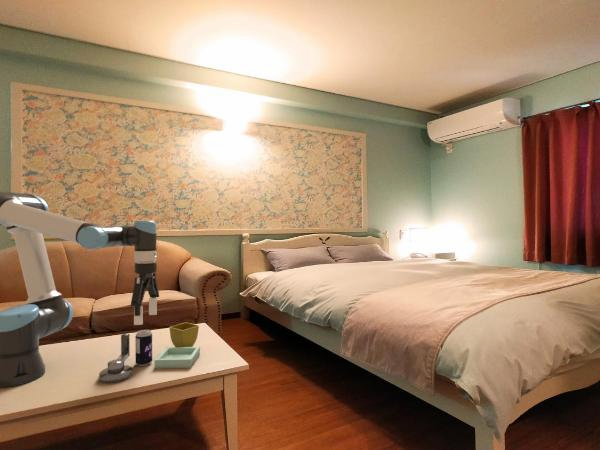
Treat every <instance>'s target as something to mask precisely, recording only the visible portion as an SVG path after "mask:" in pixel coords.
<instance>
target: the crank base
mask: <svg viewBox="0 0 600 450" xmlns="http://www.w3.org/2000/svg"><path fill="white" fill-rule="evenodd" d="M132 376H133V367H132V366H130V365H127V364H124V371H122V372H120V373H116V374H109V373H108V367H106V368H104V369H102V370H100V372H99V373H98V381H99V382H100V383H101V384H107V385H108V384H117V383H121V382H124V381H126V380H129V379H130V378H131V377H132Z"/></svg>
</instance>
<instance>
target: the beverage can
mask: <svg viewBox="0 0 600 450" xmlns="http://www.w3.org/2000/svg"><path fill="white" fill-rule="evenodd" d="M134 338H135V364H136V365H137V366H139V367H146V366H149V365H150V364H151V363H152V361H153V333H152V330H151V329H141V330H138V331H136V334H135V337H134Z"/></svg>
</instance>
